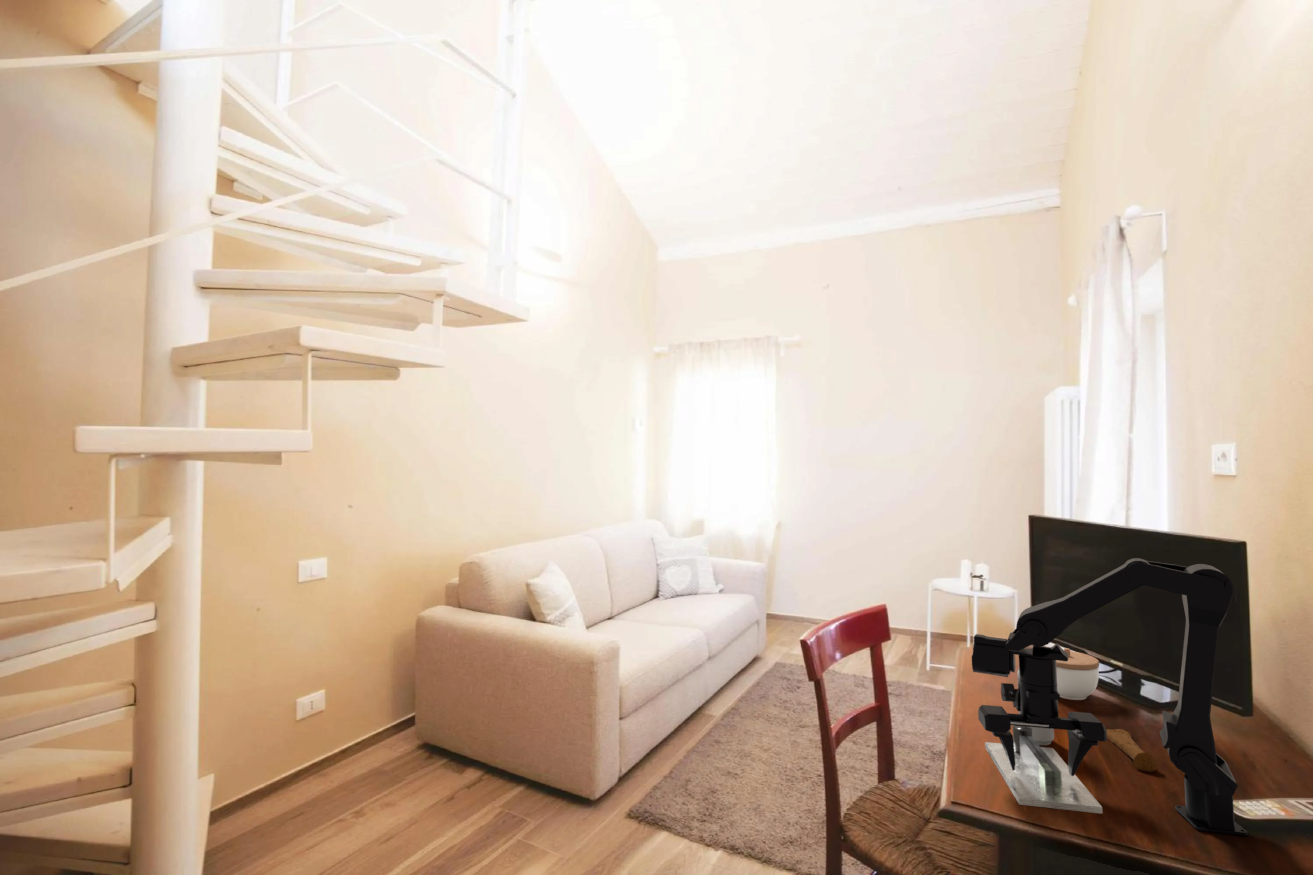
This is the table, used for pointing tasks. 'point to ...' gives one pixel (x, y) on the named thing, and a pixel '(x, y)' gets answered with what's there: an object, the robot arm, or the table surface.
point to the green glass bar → (1056, 771)
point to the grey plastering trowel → (1040, 776)
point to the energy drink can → (1041, 731)
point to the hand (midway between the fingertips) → (1041, 771)
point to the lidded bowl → (1077, 675)
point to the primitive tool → (1132, 749)
